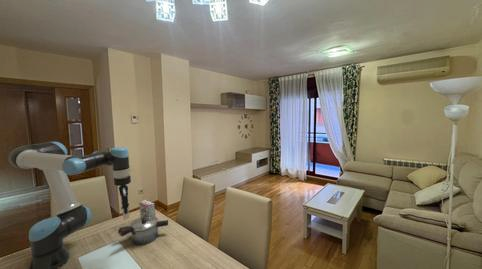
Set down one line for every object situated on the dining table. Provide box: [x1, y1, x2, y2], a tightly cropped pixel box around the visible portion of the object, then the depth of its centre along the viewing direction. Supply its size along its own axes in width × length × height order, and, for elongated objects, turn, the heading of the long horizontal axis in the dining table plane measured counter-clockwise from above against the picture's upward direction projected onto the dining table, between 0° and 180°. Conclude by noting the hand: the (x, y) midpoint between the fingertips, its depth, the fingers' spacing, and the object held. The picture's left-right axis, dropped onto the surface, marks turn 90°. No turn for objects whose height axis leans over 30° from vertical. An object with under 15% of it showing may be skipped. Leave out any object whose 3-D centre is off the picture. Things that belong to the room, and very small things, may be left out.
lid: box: [118, 215, 159, 237], centre depth 119 cm, size 22×16×3 cm
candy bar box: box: [138, 199, 156, 218], centre depth 136 cm, size 11×5×16 cm, turn 58°
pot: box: [118, 219, 169, 247], centre depth 122 cm, size 28×15×9 cm, turn 106°
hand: (126, 218), depth 105 cm, fingers closed
